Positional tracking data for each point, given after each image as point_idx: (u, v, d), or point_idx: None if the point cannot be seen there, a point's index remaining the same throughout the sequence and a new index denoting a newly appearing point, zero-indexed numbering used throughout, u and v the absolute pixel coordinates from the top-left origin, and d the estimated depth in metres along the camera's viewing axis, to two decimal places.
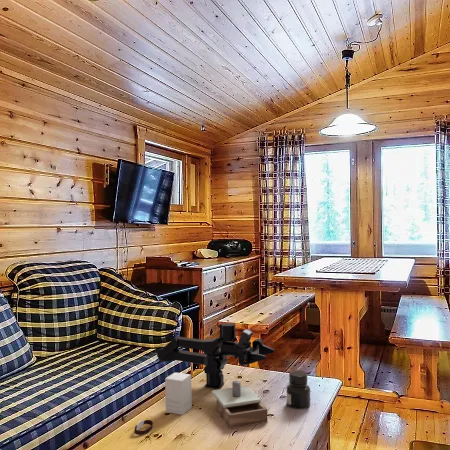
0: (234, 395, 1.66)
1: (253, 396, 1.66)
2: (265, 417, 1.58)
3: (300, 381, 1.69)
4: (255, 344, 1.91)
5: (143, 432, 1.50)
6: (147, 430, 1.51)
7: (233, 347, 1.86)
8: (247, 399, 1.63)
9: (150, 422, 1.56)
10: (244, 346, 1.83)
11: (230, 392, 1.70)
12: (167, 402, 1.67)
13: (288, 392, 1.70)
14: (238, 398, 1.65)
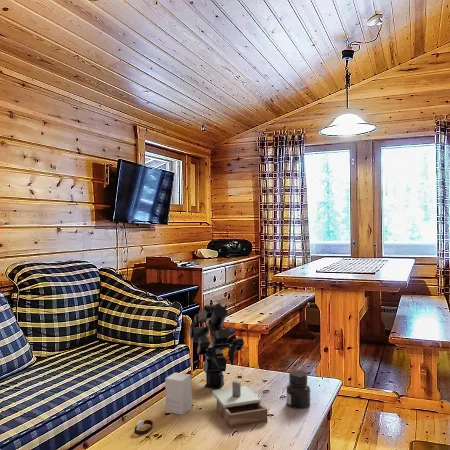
0: (234, 395, 1.66)
1: (253, 396, 1.66)
2: (265, 417, 1.58)
3: (300, 381, 1.69)
4: None
5: (143, 432, 1.50)
6: (147, 430, 1.51)
7: (212, 330, 1.86)
8: (247, 399, 1.63)
9: (150, 422, 1.56)
10: (214, 340, 1.82)
11: (230, 392, 1.70)
12: (167, 402, 1.67)
13: (288, 392, 1.70)
14: (238, 398, 1.65)
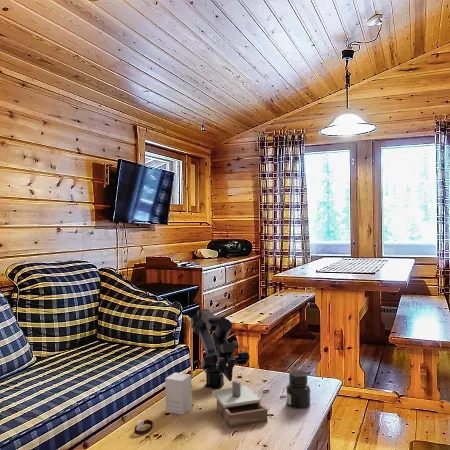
0: (234, 395, 1.66)
1: (253, 396, 1.66)
2: (265, 417, 1.58)
3: (300, 381, 1.69)
4: None
5: (143, 432, 1.50)
6: (147, 430, 1.51)
7: (216, 344, 1.81)
8: (247, 399, 1.63)
9: (150, 422, 1.56)
10: (219, 354, 1.77)
11: (230, 392, 1.70)
12: (167, 402, 1.67)
13: (288, 392, 1.70)
14: (238, 398, 1.65)
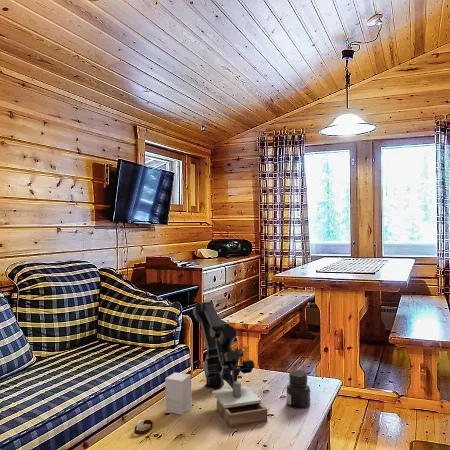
0: (234, 395, 1.65)
1: (253, 396, 1.66)
2: (265, 417, 1.58)
3: (300, 381, 1.69)
4: None
5: (143, 432, 1.50)
6: (147, 430, 1.51)
7: (220, 352, 1.76)
8: (247, 400, 1.63)
9: (150, 422, 1.56)
10: (223, 362, 1.72)
11: (230, 392, 1.70)
12: (167, 402, 1.67)
13: (288, 392, 1.70)
14: (238, 398, 1.64)
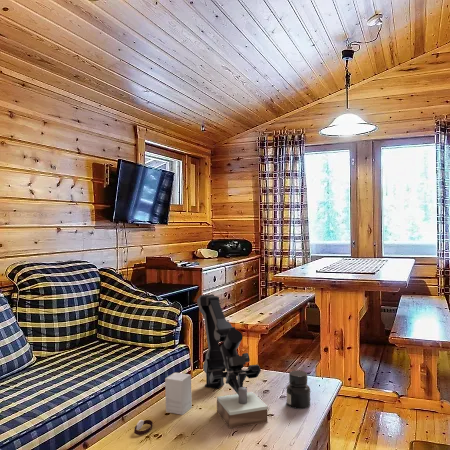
0: (240, 402, 1.60)
1: (260, 403, 1.60)
2: (265, 417, 1.58)
3: (300, 381, 1.69)
4: None
5: (143, 432, 1.50)
6: (147, 430, 1.51)
7: (225, 356, 1.71)
8: (254, 406, 1.57)
9: (150, 422, 1.56)
10: (228, 367, 1.66)
11: (236, 398, 1.64)
12: (167, 402, 1.67)
13: (288, 392, 1.70)
14: (244, 404, 1.59)
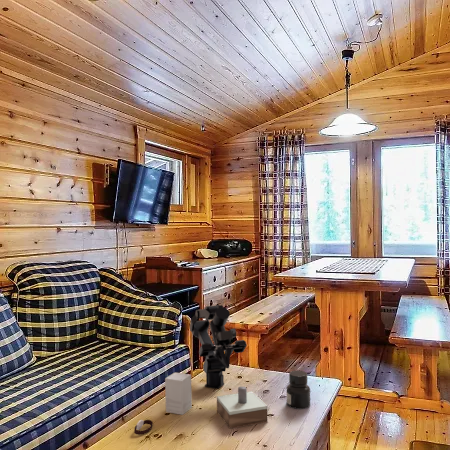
0: (240, 401, 1.60)
1: (260, 402, 1.61)
2: (265, 417, 1.58)
3: (300, 381, 1.69)
4: None
5: (143, 432, 1.50)
6: (147, 430, 1.51)
7: (214, 332, 1.84)
8: (253, 406, 1.58)
9: (150, 422, 1.56)
10: (216, 342, 1.80)
11: (236, 398, 1.64)
12: (167, 402, 1.67)
13: (288, 392, 1.70)
14: (244, 404, 1.59)
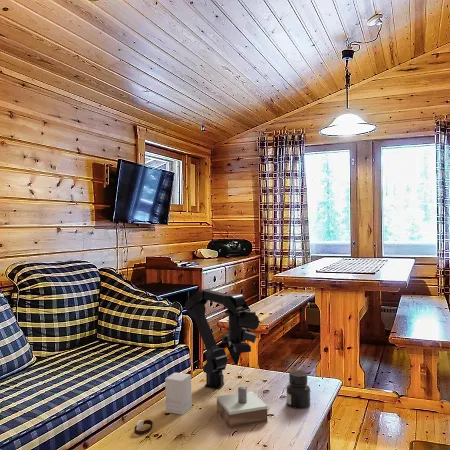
0: (240, 401, 1.60)
1: (260, 402, 1.61)
2: (265, 417, 1.58)
3: (300, 381, 1.69)
4: None
5: (143, 432, 1.50)
6: (147, 430, 1.51)
7: (241, 327, 1.81)
8: (253, 406, 1.58)
9: (150, 422, 1.56)
10: (244, 340, 1.81)
11: (236, 398, 1.64)
12: (167, 402, 1.67)
13: (288, 392, 1.70)
14: (244, 404, 1.59)
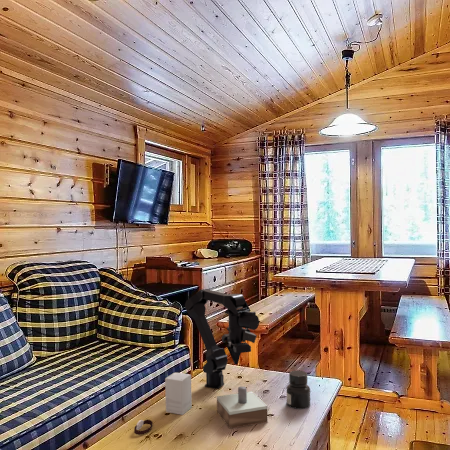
0: (240, 401, 1.60)
1: (260, 402, 1.61)
2: (265, 417, 1.58)
3: (300, 381, 1.69)
4: None
5: (143, 432, 1.50)
6: (147, 430, 1.51)
7: (241, 327, 1.81)
8: (253, 406, 1.58)
9: (150, 422, 1.56)
10: (244, 340, 1.81)
11: (236, 398, 1.64)
12: (167, 402, 1.67)
13: (288, 392, 1.70)
14: (244, 404, 1.59)
